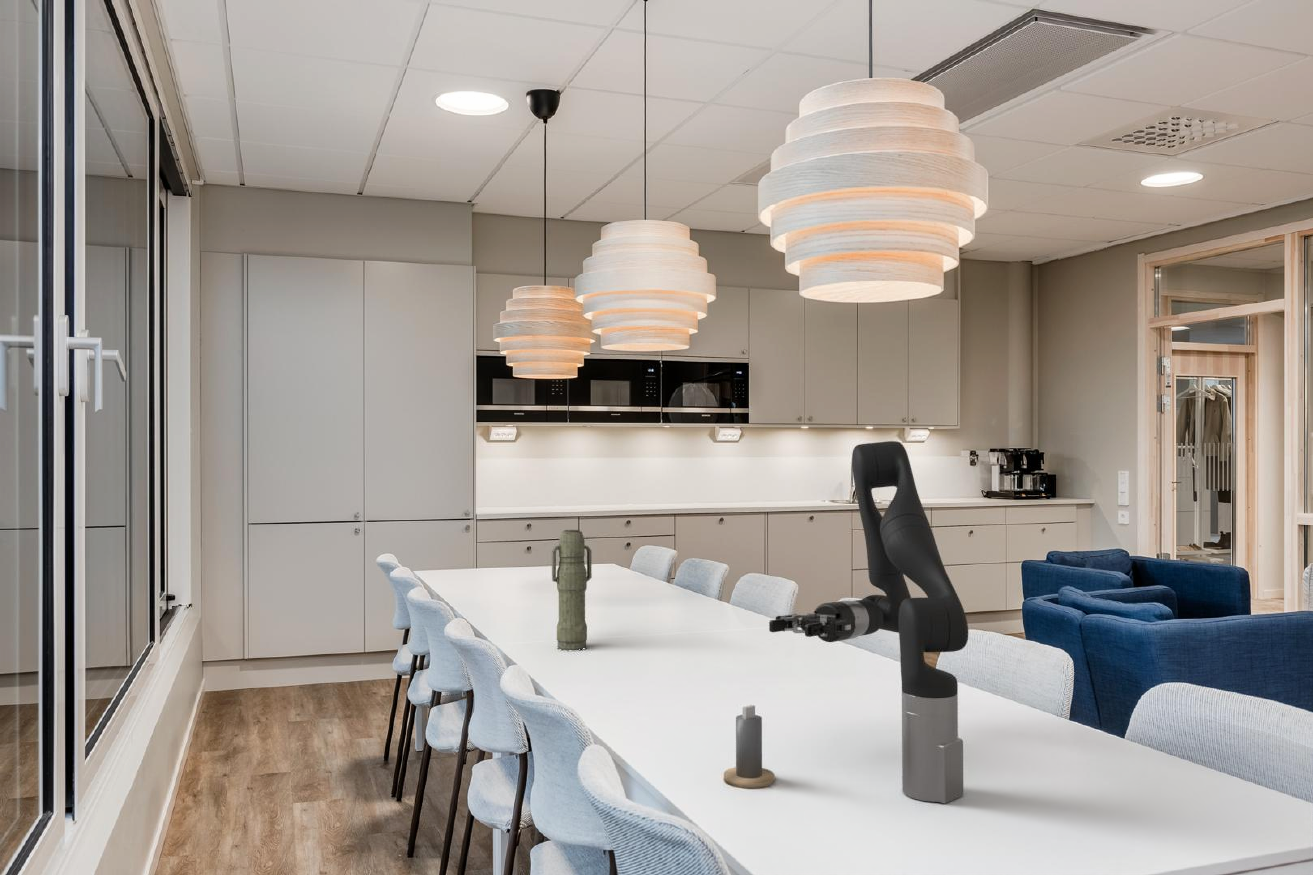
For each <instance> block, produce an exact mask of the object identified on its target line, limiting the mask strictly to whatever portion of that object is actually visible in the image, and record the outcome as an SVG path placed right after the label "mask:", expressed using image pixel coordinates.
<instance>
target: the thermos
mask: <svg viewBox="0 0 1313 875" xmlns="http://www.w3.org/2000/svg"><path fill="white" fill-rule="evenodd" d="M585 549H586V552H585ZM557 551H558V557H559V561H558V567H557ZM585 553H586V565H585ZM592 574H593V572H592V549H591V547H589V546H588V545H586V544H585V538H584V535H583V531H581V530H580V529H565V530H563V531H561V533H560V536H559V540H558V545H557V546H554V547H553V549H552V550H551V579H552V582H555V583H556V589H557V592H558V622H557V625H556V641H557V647H558V648H557V650H559V649H561V650H560V651H562V650H579V649H583V648H586V649H587V640H588V626H587V622H586V590H587V589H588V588H587V584H588V581H590V580H591V579H592V576H593V575H592ZM579 651H580V650H579Z"/></svg>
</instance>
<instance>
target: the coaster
mask: <svg viewBox="0 0 1313 875" xmlns="http://www.w3.org/2000/svg"><path fill="white" fill-rule="evenodd" d="M723 782H724V783H725V784H727V785H729V786H731V787H735V788H739V787H740V789H761V788H762V787H763V788H766V787H770V786H772V785H774V783H775V773H774V772H773V771H771V770H770V769H767V768H764V767H762V776H761V777H758V778H742V777H739V776H737V775H736V766H735V767H730V768H728V769H726V770H725V771H724V772H723ZM763 788H762V789H763Z"/></svg>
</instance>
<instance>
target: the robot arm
mask: <svg viewBox="0 0 1313 875" xmlns="http://www.w3.org/2000/svg"><path fill="white" fill-rule="evenodd" d="M851 454H852V455H851V466H852V467H851V469H852V477H853V483H854V488H855V494H856V498H857V503H858V510H859V515H860V520H861V524H862V529H863V534H864V539H865V540H864V541H865V547H866V558H867V571H868V580H869V582H870V584H871V585H872V586H873V587H875V588H878V589H879V590H881V591H882V592H884V594H885V595H883V594H871V595H867V596H865V597H864V598H862V599H859V600H841V601H840V600H839V601H833V602H832V601H831V602H824V603H821V604H820V605H818V606H817V607H816V608H815V610H814V611H813V612H806V613H805V614H798V613H794V614H786V615H776V616H775V619H771V620H770V621H769V622H768V624H769V625H768V626H769V628H768V630H769V632H770V633H777V632H778V633H779V632H792V633H794V634H804V636H805V637H809V638H811V637H818V638H819V639H820V640H822V641H824V642H825V643H836V642H840V641H847V640H852V639H855V638H858V637H862V636H867V635H872V634H874V633H877V632H878V631H879V630H884V631H888V632H894V633H898V636H899V637H898V639H899V652H900V653H899V656H900V657H899V658H900V674H901V675H900V677H901V678H900V679H901V769H902V772H901V774H902V776H901V777H902V778H901V782H902V784H901V786H902V788H901V790H902V792H903V794H904V795H906V796H907V797H909V798H912V799H915V800H917V801H923V802H932V803H941V804H947V803H950V802H952V801H954V800H956V799H957V798H961V797H963V796H964V740H963V738H960V737H959V721H958V720H959V718H958V717H959V715H958V714H959V712H958V710H959V708H958V706H959V702H958V700H959V699H958V698H959V697H958V696H959V694H958V693H959V692H958V691H959V690H958V688H959V684H958V679H957V677H956V676H955V675H953V674H952V673H950V672H948V671H945V670H942V669H938V668H936V667H933V666H932V665H931V664H929V663H928V662H926V661H925V660H926V659H925V653H954V652H959V651H961V650H963V649H964V648H965V647H966V646H967V643H968V641H969V625H968V620H967V616H966V615H967V614H966V613H965V609H964V607H963V604H962V601H961V600H960V597H959V596H958V593H957V592H956V590H955V587H954V586H953V582H951V579H950V577H949V575H948V573H947V571H946V567H945V566H944V564H943V561H942V560H943V559H942V556H941V555H940V552H939V548H938V545H937V543H936V539H935V535H934V532H933V530H932V527H931V524H930V522H929V520H928V517H927V515H926V512H925V509H924V507H923V504H922V501H921V499H920V496H919V493H918V490H917V486H916V483H915V478H914V474H913V470H912V467H911V462H910V459H909V455H908V452H907V450H906V448H905V446H904V445H903V444H902V443H901V442H899V441H895V440H889V441H881V442H880V441H879V442H869V443H862V444H857V445H855V446H854V447H853V449H852V453H851ZM888 487H895V488H896V490H895V494H894V496H893V498H892V500H891V502H890V503H889V505H888V506H887V508H886V510H885V512H884V513H883V515H882V514H881V513H880V511H879V509H878V507H877V505H876V502H875V500H874V497H873V492H872V490H873V489H876V488H877V489H879V488H888ZM905 577H907V578H908V579H909V580H910V581H912V582H913V583H914V584H915V585H917V586H918V587H919V588H920V589H921V590H922V591H923V592H924V594H925V595H926V596H927V597H926V596H925V597H912V596H911V594H910V591H909V587H908V584H907V582H906V578H905ZM799 627H800V628H801V629H799Z"/></svg>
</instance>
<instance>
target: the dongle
mask: <svg viewBox="0 0 1313 875" xmlns="http://www.w3.org/2000/svg"><path fill="white" fill-rule="evenodd" d="M735 765H736V766H735V767H736V775H737V776H739V777H742V778H758V777H761V776H762V768H763V717H762V716H761V715H758V714H757V715H756V705H755V704H754V705H753V704H749V705H746V706H743V707H742V714H739V715H736V716H735Z"/></svg>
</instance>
